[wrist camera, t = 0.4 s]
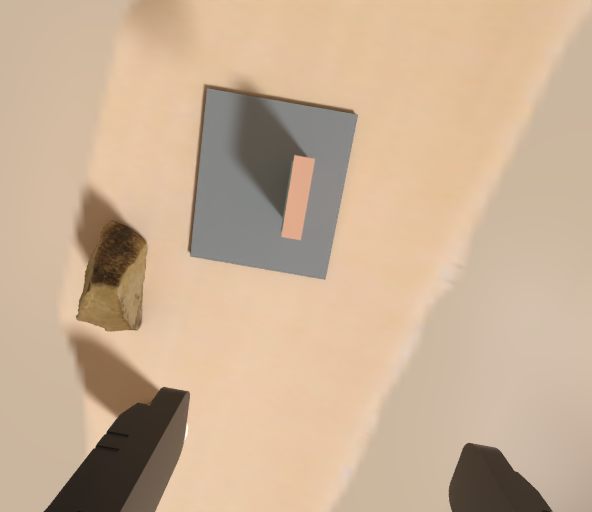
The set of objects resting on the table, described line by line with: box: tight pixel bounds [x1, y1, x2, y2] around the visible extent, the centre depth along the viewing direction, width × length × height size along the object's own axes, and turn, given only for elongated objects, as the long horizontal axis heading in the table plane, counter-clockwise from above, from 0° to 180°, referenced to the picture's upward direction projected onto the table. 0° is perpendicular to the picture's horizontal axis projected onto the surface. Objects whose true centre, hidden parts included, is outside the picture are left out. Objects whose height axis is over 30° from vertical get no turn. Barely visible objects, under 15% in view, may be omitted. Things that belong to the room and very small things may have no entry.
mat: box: [190, 88, 358, 280], centre depth 32 cm, size 16×14×1 cm
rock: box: [76, 221, 147, 331], centre depth 32 cm, size 11×9×10 cm
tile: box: [281, 155, 315, 240], centre depth 28 cm, size 6×2×8 cm, turn 170°
